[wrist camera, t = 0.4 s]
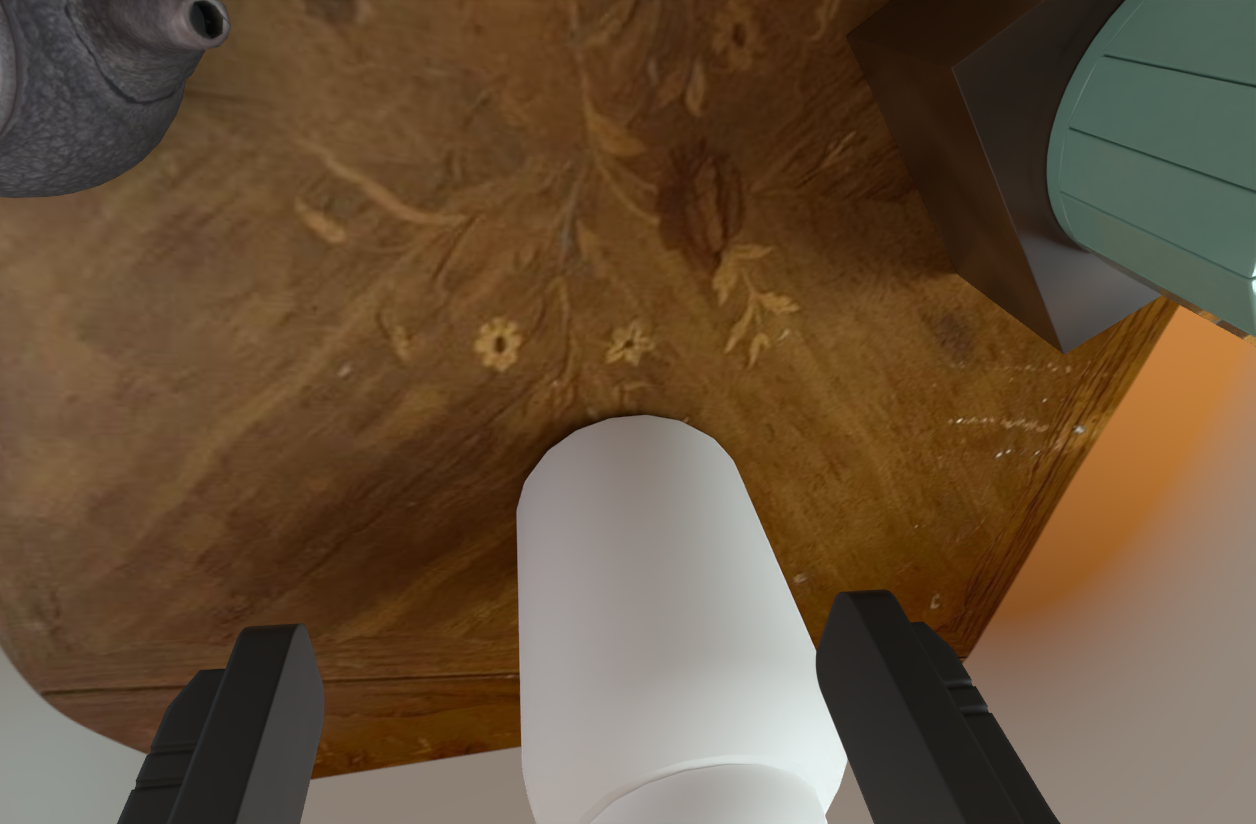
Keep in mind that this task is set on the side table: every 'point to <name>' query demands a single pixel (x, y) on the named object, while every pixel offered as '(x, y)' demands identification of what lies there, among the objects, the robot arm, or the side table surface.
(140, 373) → the side table surface
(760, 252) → the side table surface
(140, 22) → the teapot
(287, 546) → the side table surface
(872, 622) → the robot arm
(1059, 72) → the block
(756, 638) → the can
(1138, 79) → the green cup
